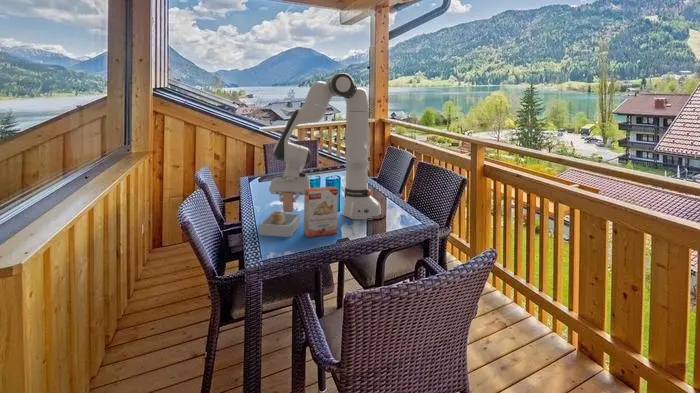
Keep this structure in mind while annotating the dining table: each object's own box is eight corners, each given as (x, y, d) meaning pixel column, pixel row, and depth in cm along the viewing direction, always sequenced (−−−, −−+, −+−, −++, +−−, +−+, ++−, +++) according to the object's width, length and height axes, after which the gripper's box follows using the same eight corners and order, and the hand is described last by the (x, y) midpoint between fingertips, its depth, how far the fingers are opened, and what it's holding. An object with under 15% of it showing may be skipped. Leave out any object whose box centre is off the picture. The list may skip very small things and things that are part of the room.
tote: (300, 224, 192) (300, 214, 191) (290, 237, 175) (290, 226, 174) (272, 222, 194) (271, 212, 192) (259, 235, 176) (258, 224, 175)
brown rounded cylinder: (294, 209, 199) (294, 191, 197) (292, 212, 194) (291, 194, 192) (284, 209, 199) (284, 191, 197) (281, 212, 195) (281, 194, 192)
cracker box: (308, 238, 174) (308, 191, 169) (303, 233, 180) (303, 188, 174) (337, 233, 181) (338, 188, 176) (332, 229, 186) (332, 185, 181)
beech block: (285, 228, 182) (284, 211, 180) (282, 232, 177) (281, 215, 176) (274, 228, 183) (274, 211, 181) (271, 231, 178) (270, 214, 176)
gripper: (270, 173, 200) (265, 197, 193) (310, 174, 198) (306, 198, 191) (273, 180, 206) (268, 204, 199) (312, 181, 203) (309, 205, 196)
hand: (287, 201), depth 195 cm, fingers closed on brown rounded cylinder, 5 cm apart
